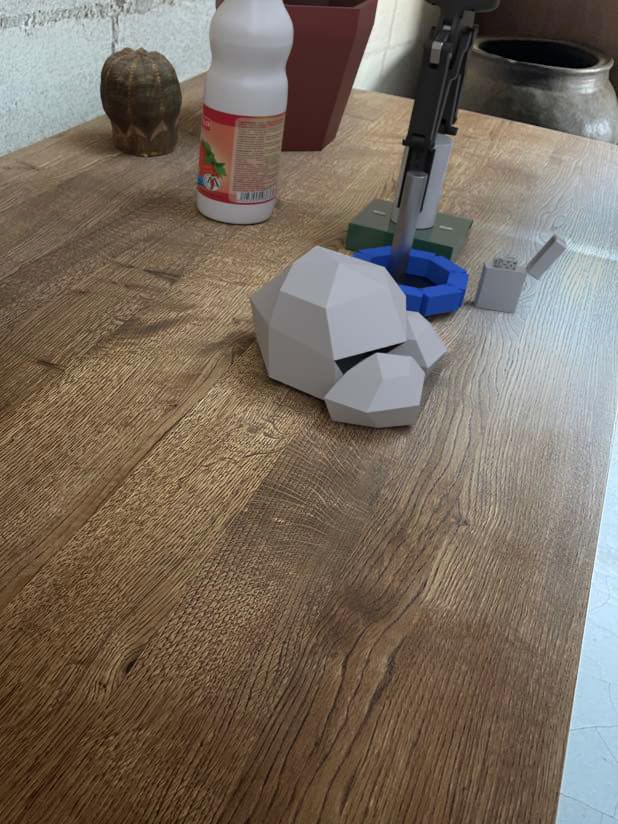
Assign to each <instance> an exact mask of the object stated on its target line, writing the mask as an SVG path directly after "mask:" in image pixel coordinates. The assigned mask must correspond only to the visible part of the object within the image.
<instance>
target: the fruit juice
mask: <svg viewBox="0 0 618 824" xmlns="http://www.w3.org/2000/svg"><path fill="white" fill-rule="evenodd" d="M293 35H294V30H293V24H292V21H291V18H290V16H289V14H288V12H287V10H286V8H285V6H284V4H283V1H282V0H224V1H223V3H222V4H221V5H220V6H219V7H218V9H217V10H216V9H215V12H214V13H213V15H212V17H211V20H210V24H209V31H208V42H209V47H210V48H209V49H210V53H211V61H210V65H209V67H208V69H207V71H206V75H205V80H204V86H203V94H202V112H201V126H200V141H199V153H198V169H197V183H196V184H197V185H196V186H197V187H196V196H195V197H196V198H195V199H196V206H197V210H198V212H200V213H201V214H202V215H203V216H205V217H206V218H208V219H211V220H214V221H217V222H221V223H226V224H233V225H251V224H259V223H261V222H264V221H267V220H269V218H271V216H272V215H273V212H274V208H275V204H276V194H277V187H278V179H279V171H280V164H281V163H280V162H281V154H282V151H281V147H282V139H283V130H284V122H285V114H286V107H287V97H288V80H287V76H286V70H285V68H286V62H287V60H288V57H289V54H290V52H291V49H292V45H293Z"/></svg>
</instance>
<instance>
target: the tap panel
mask: <svg viewBox="0 0 618 824" xmlns="http://www.w3.org/2000/svg"><path fill="white" fill-rule="evenodd" d="M393 202H394V201H391V200H387V199H382V198H378V197H374V198H373V199H372V200H371V201H370V202H369V203H367V205H365V207H363V208H362V209H361V210H360V211H359V212H358V213H357V214H356V215H355V216H354V217H353V218H352V219H351V220H350V221H349V222H348V226H347V231H346V237H345V242H344V249H346V250H350V251H354V252H357V253H358V250H364V249H371V248H379V247H386V246H391V247H392V242H393V238H394V233H395V228H396V223H395V222H393V221H392V220H391V212H392V207H393ZM473 222H474V220H473V219H470V218H465V217H461V216H457V215H452V214H447V213H443V212H439V211H437V215H436V219H435V223H434V225H433V226H432V227H430V228H426V229H416V230H415V235H414V239H413V244H412V248H411V249H415V250H420V251H425V252H431V253H435V256H443V257H445V258H446V259H448V260H450V261H451V262H453V263H455V264H456V261H457V260H458V258H459V257H460V256H461V254H462V253H463V251H464V250H465V248H466V247H467V246H468V241H469V238H470V234H471V230H472V227H473Z"/></svg>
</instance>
